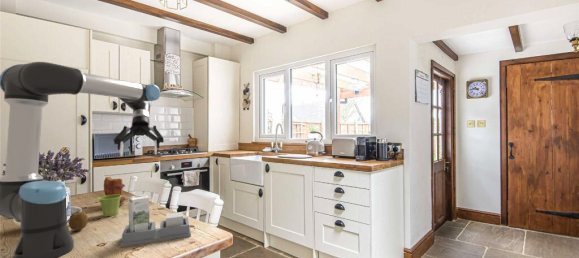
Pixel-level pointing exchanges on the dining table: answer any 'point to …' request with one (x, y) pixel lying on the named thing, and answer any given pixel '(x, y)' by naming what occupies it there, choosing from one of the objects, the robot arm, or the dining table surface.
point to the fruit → (78, 221)
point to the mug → (114, 188)
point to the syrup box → (139, 213)
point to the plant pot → (110, 204)
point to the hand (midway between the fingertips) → (138, 153)
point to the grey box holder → (159, 231)
